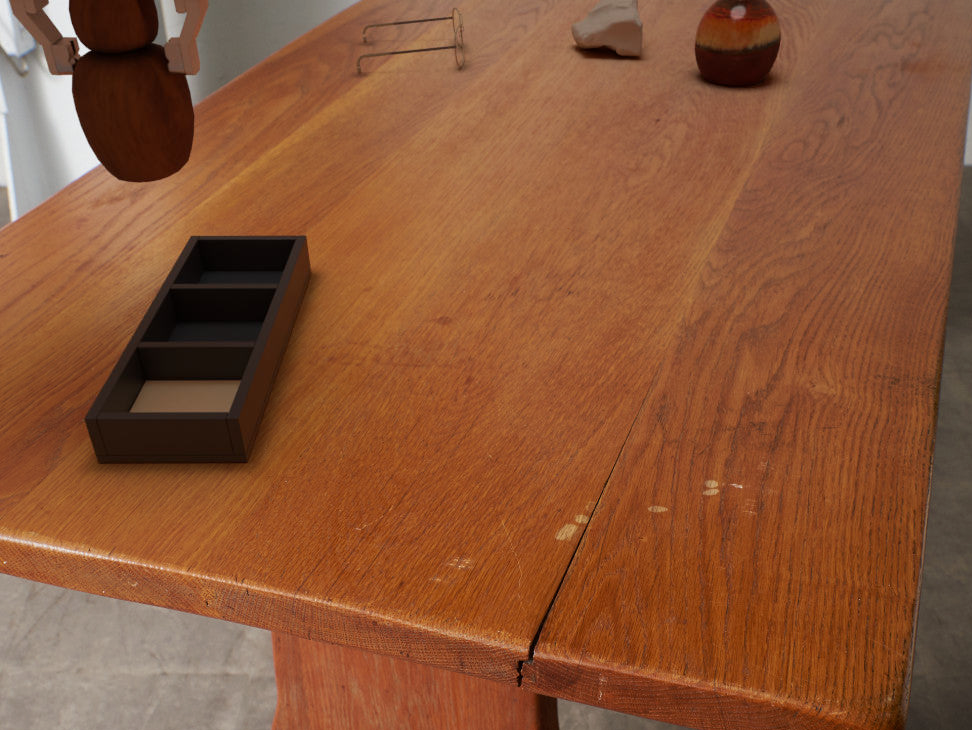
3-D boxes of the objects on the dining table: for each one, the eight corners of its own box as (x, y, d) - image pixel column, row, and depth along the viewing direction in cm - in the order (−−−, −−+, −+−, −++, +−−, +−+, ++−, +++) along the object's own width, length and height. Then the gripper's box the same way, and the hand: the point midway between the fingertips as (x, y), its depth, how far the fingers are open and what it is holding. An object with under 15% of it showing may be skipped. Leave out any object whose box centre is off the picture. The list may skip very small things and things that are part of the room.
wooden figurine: (157, 149, 68) (100, -111, 58) (221, 165, 65) (172, -103, 56) (76, 181, 63) (0, -95, 54) (142, 200, 61) (74, -85, 51)
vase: (756, 95, 130) (776, -39, 120) (677, 82, 135) (690, -49, 125) (786, 73, 137) (806, -55, 128) (710, 62, 142) (724, -63, 132)
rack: (97, 463, 68) (83, 418, 66) (199, 273, 90) (190, 235, 88) (247, 462, 68) (238, 418, 66) (311, 273, 90) (306, 235, 88)
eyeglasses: (466, 71, 139) (465, 32, 135) (357, 73, 138) (353, 34, 135) (463, 40, 151) (462, 3, 148) (362, 41, 150) (359, 5, 147)
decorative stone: (561, 32, 148) (602, -31, 144) (607, 70, 152) (649, 10, 149) (578, 45, 139) (623, -22, 136) (627, 84, 143) (672, 21, 140)
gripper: (-173, -206, 49) (-70, 89, 58) (246, -206, 49) (286, 88, 58) (-111, -215, 54) (-25, 58, 63) (270, -215, 54) (303, 57, 63)
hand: (127, 72), depth 60 cm, fingers closed on wooden figurine, 6 cm apart
